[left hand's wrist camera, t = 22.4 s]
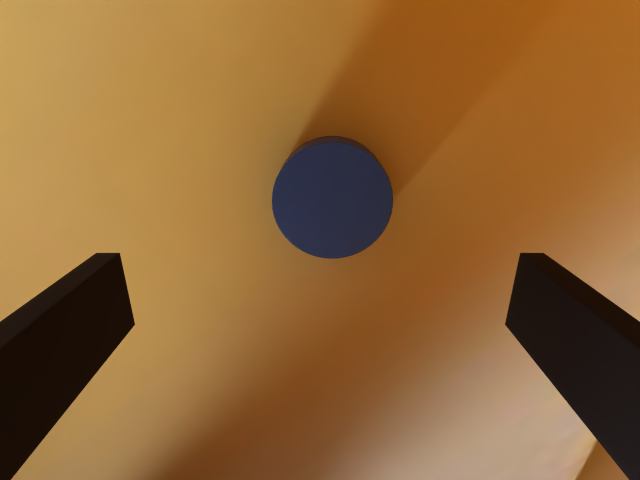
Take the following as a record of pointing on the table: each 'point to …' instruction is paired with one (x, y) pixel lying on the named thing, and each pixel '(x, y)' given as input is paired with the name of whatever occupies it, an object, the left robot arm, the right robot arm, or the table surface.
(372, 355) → the table surface
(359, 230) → the lid
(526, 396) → the table surface
